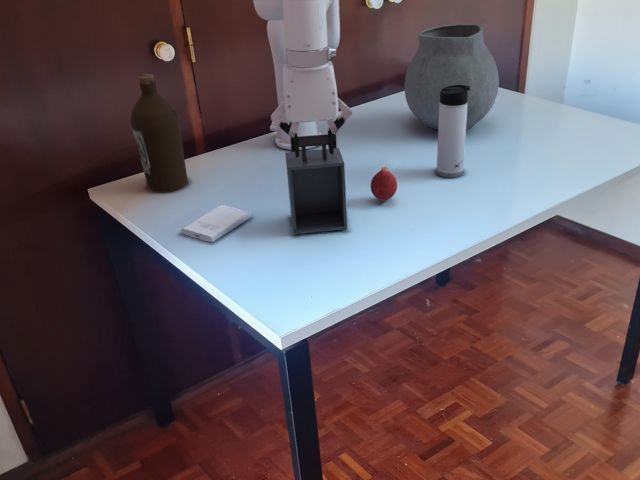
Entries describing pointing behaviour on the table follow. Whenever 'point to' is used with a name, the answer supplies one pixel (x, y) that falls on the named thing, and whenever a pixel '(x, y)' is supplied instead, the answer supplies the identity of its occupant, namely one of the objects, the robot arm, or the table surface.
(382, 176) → the onion
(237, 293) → the table surface
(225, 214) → the hard drive
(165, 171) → the olive oil
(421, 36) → the ceramic pot
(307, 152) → the grey drawer with handle
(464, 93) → the travel mug
